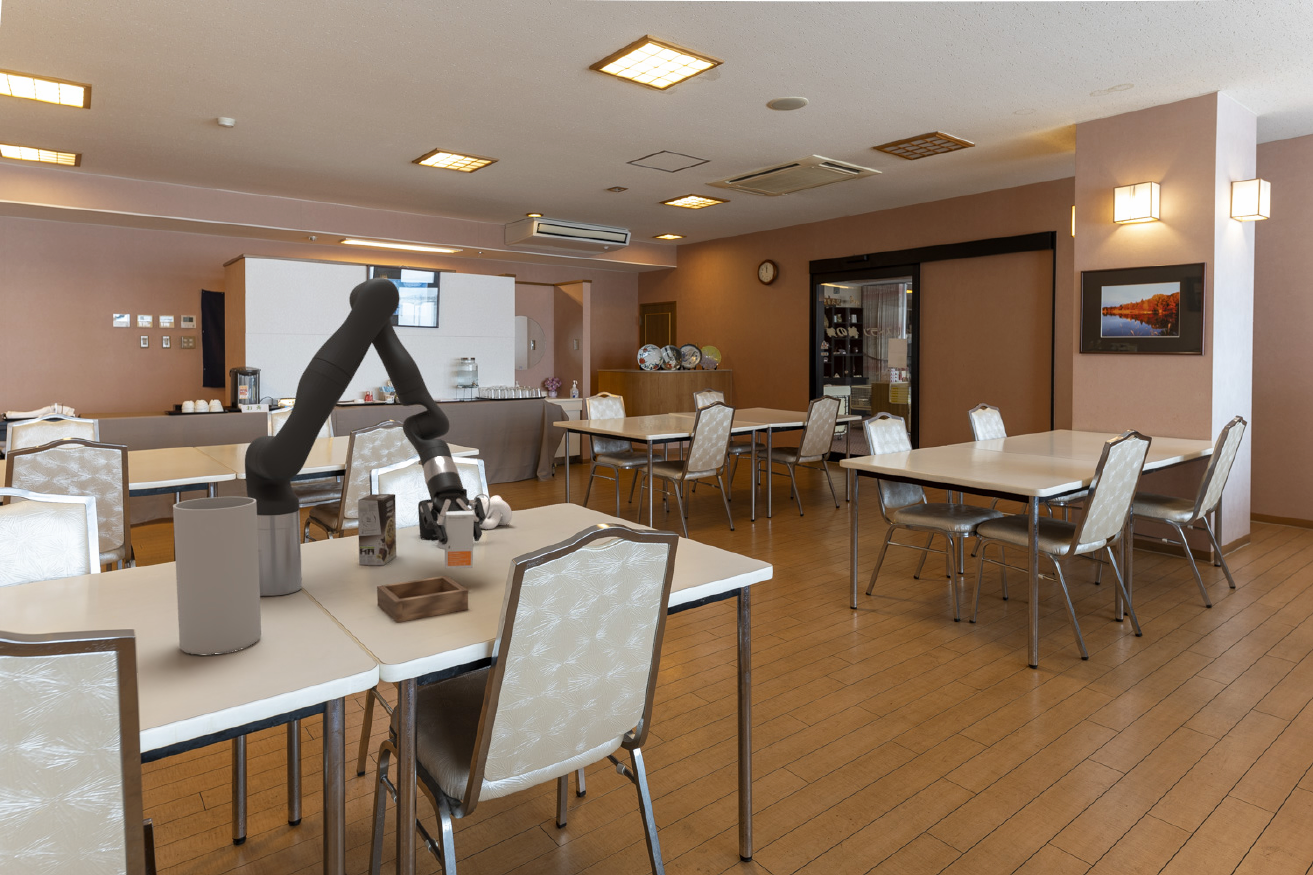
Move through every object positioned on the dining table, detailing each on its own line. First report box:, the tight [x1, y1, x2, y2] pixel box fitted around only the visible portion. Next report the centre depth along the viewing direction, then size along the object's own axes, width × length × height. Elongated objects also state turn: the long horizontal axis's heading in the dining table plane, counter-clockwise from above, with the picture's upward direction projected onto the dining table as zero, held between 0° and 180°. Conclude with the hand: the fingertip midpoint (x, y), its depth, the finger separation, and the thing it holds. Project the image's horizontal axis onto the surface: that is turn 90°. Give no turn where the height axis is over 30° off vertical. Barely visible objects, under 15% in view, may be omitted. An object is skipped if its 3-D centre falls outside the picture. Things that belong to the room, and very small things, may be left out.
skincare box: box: [444, 511, 474, 569], centre depth 173 cm, size 6×4×12 cm
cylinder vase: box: [172, 496, 262, 655], centre depth 137 cm, size 12×12×25 cm
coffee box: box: [357, 493, 397, 566], centre depth 195 cm, size 9×6×16 cm
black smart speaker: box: [417, 498, 438, 541], centre depth 222 cm, size 9×9×10 cm
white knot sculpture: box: [472, 494, 513, 530], centre depth 236 cm, size 11×12×9 cm
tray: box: [376, 575, 469, 623], centre depth 159 cm, size 14×12×4 cm
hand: (461, 540), depth 172 cm, fingers closed on skincare box, 7 cm apart
